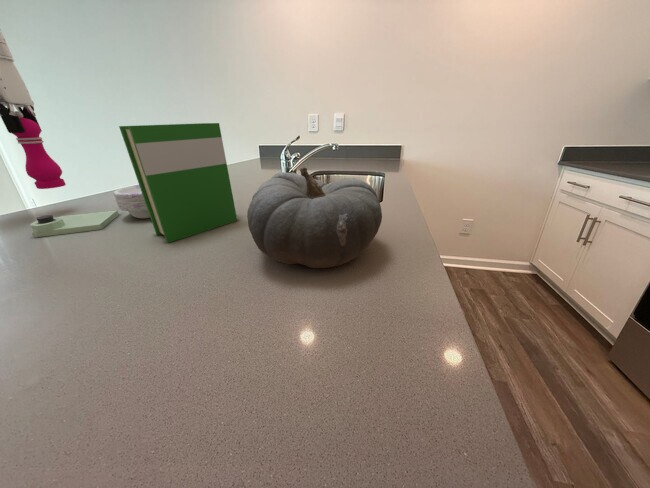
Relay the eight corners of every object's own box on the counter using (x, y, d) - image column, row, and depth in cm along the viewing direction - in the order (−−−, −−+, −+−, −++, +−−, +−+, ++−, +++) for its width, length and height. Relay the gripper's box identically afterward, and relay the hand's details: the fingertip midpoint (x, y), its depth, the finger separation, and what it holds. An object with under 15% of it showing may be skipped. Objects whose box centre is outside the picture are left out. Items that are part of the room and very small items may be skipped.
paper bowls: (172, 202, 87) (165, 179, 83) (190, 212, 77) (183, 186, 73) (118, 214, 77) (107, 188, 73) (130, 227, 67) (118, 197, 64)
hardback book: (168, 242, 58) (129, 126, 47) (156, 234, 63) (118, 126, 52) (237, 220, 70) (219, 123, 59) (223, 214, 74) (204, 123, 64)
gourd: (258, 218, 63) (260, 144, 54) (357, 228, 67) (373, 160, 58) (237, 286, 42) (233, 184, 33) (382, 295, 46) (414, 206, 37)
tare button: (36, 225, 63) (33, 219, 62) (43, 221, 65) (40, 215, 64) (51, 223, 63) (47, 217, 63) (57, 220, 66) (54, 214, 65)
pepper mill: (29, 188, 75) (-11, 111, 66) (59, 183, 81) (27, 111, 72) (42, 190, 72) (3, 110, 64) (73, 184, 78) (41, 111, 70)
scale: (31, 238, 62) (24, 227, 61) (59, 221, 73) (54, 211, 71) (101, 229, 66) (96, 218, 65) (119, 214, 77) (115, 205, 75)
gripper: (-4, 58, 69) (30, 131, 77) (-69, 41, 54) (-18, 134, 62) (31, 60, 71) (61, 131, 79) (-21, 43, 56) (22, 133, 64)
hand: (26, 131), depth 70 cm, fingers closed on pepper mill, 6 cm apart
